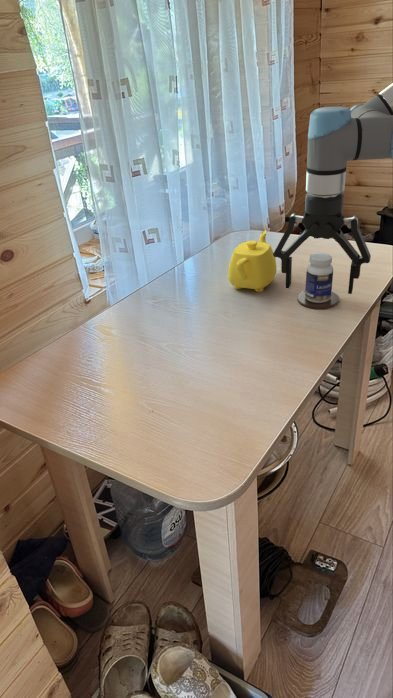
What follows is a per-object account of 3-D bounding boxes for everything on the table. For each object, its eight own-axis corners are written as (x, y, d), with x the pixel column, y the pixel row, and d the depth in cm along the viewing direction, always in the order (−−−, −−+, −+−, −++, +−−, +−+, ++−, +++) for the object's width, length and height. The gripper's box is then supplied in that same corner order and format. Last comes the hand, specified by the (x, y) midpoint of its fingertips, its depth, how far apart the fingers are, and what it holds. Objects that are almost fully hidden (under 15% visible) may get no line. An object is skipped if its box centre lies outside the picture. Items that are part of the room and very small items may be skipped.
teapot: (245, 265, 135) (244, 226, 129) (286, 270, 130) (287, 229, 124) (218, 295, 121) (215, 252, 115) (262, 302, 117) (262, 257, 111)
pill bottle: (318, 306, 112) (320, 263, 107) (299, 297, 116) (301, 256, 111) (336, 298, 114) (340, 256, 109) (317, 289, 119) (320, 249, 113)
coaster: (340, 292, 118) (340, 290, 118) (336, 311, 111) (336, 308, 110) (301, 289, 121) (301, 287, 120) (294, 307, 114) (294, 304, 113)
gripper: (391, 188, 102) (378, 285, 113) (267, 186, 110) (267, 277, 121) (390, 200, 96) (376, 301, 107) (259, 196, 104) (259, 290, 115)
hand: (318, 288), depth 114 cm, fingers open, 13 cm apart
